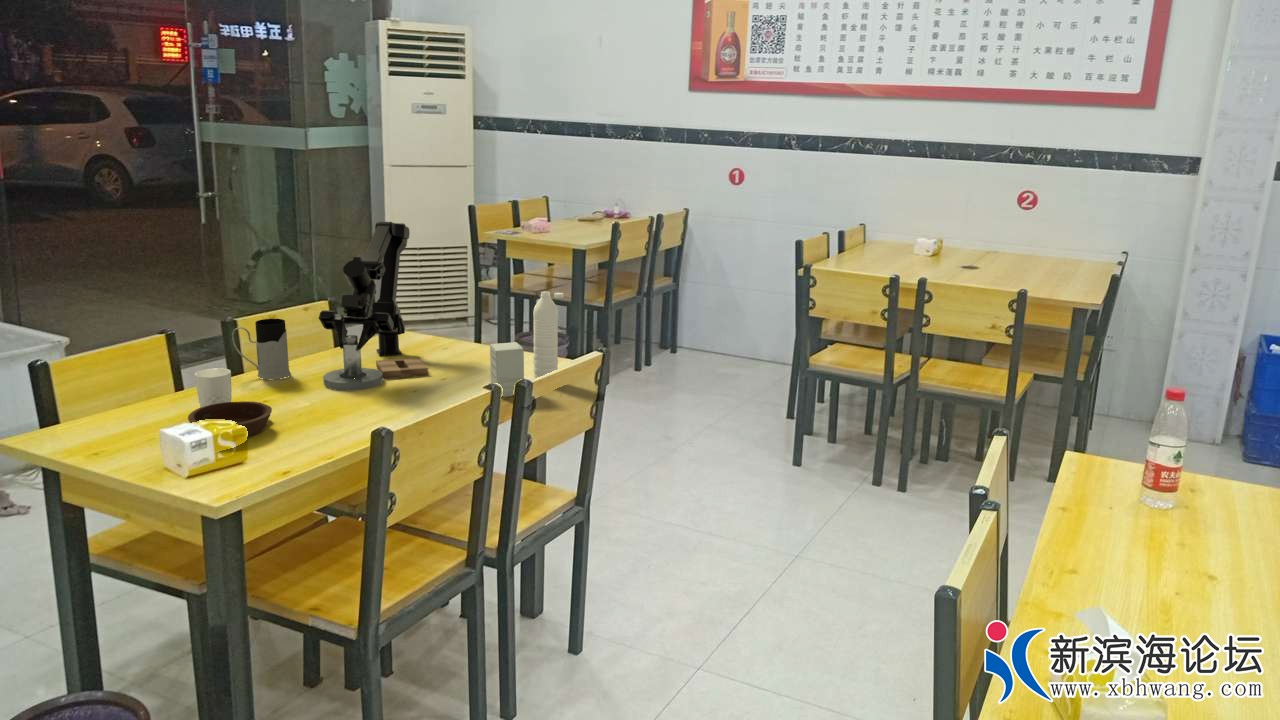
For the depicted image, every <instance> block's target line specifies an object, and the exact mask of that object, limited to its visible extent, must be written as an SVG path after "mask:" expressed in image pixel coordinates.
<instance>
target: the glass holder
mask: <svg viewBox="0 0 1280 720" xmlns="http://www.w3.org/2000/svg"><path fill="white" fill-rule="evenodd" d="M254 326H255V333H256V334H255V336H256V340H255V341H254V340H251V334H250V332H249V330H248V329H247V328H245V327H243V326H238V327H236V328H234V329H233V331H232V332H231V333H232V334H231V338H232V339H231V341H232V345H233V347H234V349H235V350H236V352H237V353H238V355H240V356H241V357H242V358H243V359H244V360H246V361H247V362H249V363H250V364H252V365H254V366H255V367H256V370H257V371H258V372H257V375H256V377H257V376H258V377H260V378H263V379H280V378H284V377H288V376H290V375H291V376H292V373H291V372H290V364H289V363H290V362H289V350H288V349H289V347H288V336H287V329H286V320H285V319H282V318H264V319H259V320H257V321H255V325H254ZM239 329H242V330H243V331H245V332H246V333H247V336H248V340H249V342H251V343H252V344H255V345H256V359H257V363H256V362H253V361H252V360H251V359H249V358H248V357H246V356H245V355H244V354H243V353H242V352H241V351H240V350H239V349H238V346H237V344H236V342H235V338H234V334H235V332H236V330H239ZM291 376H290V377H291ZM288 378H289V377H288ZM280 380H281V379H280Z"/></svg>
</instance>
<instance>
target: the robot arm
mask: <svg viewBox="0 0 1280 720" xmlns="http://www.w3.org/2000/svg"><path fill="white" fill-rule="evenodd" d="M374 228H375V229H374V232H373V234H372V236H371V239H370V242H369V245H368V247H367V250H366V251H365V252H363V253H360V254H359V255H358V256H353V258H352V260H349V261H348V262H347V263H346V264H345V265H343V268H342V269H343V274H344V276H345V278H346V280H347V282H348V284H349V286H350V287H351V288H352V291H351V294H342V295H341V299H340V300H341V301H340V308H343V313H344V314H346V315H343V314H339V313H337V311H336V310H324V309H323V310H321V311H320V312H319V315H318V321H320V324H321V325H322V327H323V328H324V329H325V330H331V331H332V330H335V332H337V336H338V344H339V348H340V349H342V350H343V343H345V336H347V335H348V332H349V331H348V329H347V327H346V325H362V330H361V332H360V333H361V334H360V337H359V340H358V342H359V344H358V349H359V350H360V349H361V350H362V348H363V347H364V346H365V345H366V344H367V343H368V341H370V340H371V339H373V337H374V336H375V335H377V334H378V348H377V349H376V353H377V354H378V356H379V357H383V356H395V355H403V351H401V349H400V346H399V345H400V344H399V343H400V342H399V340H400V339H399V336H401V335H402V334H405V333H406V332H405V329H406V327H405V325H406V324H405V321H404V320H403V317H402V315H401V309H400V307H399V305H398V303H397V291H398V279H399V269H400V262H401V261H400V259H401V258H400V257H401V254H402V252H403V251H404V250H405V249H406V247H407V246H408V245H407V244H408V240H409V238H410V228H409V227H408V226H406V224H405V223H404V222H403V223H401V222H400V223H397V222H392V221H378V222H376V223H375V225H374ZM379 280H381V281H380V289H379V290H380V291H379V298H378V299H377V300H376V301H374V302H373V300H374V296H375V294H377V285H376V283H375V281H379Z"/></svg>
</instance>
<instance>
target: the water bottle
mask: <svg viewBox="0 0 1280 720" xmlns="http://www.w3.org/2000/svg"><path fill="white" fill-rule="evenodd" d="M540 293H541V294H540V298H539V299H538V301H537V302H536V304H535V306H534V308H533V316H532V317H533V379H534V378H537V377H540V376H543V375H545V374H547V373H550V372H552V371H554V370H557V369H559V367H558V364H559V363H558V362H559V360H558V356H559V354H558V352H559V347H558V343H559V338H558V337H559V334H558V333H559V332H558V331H559V329H558V326H559V325H558V323H559V322H558V321H559V320H558V319H559V318H558V317H559V311H558V310H559V309H558V307H557V305H556V304H555V302H554V300H553V299H552V298H551V292H550V291H549V290H548V291H547V290H544V291H541V292H540ZM553 295H554V296H553V297H554V298H557V299H558V298H559V299H560V298H561V299H563V298H564V297H565V296H564V292H554V293H553Z"/></svg>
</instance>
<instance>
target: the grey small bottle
mask: <svg viewBox="0 0 1280 720" xmlns="http://www.w3.org/2000/svg"><path fill="white" fill-rule="evenodd" d="M358 338H359V337H358V335H357V334H356V335H355V334H349V335H348V334H347V336H345V343H343V348H342V352H343V353H342V356H343V357H342V358H343V369H344V374H345V375H359V374H361V373H362V368H363V367H362V348H361V349H360V350H359V349H358V344H359V340H358Z"/></svg>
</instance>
